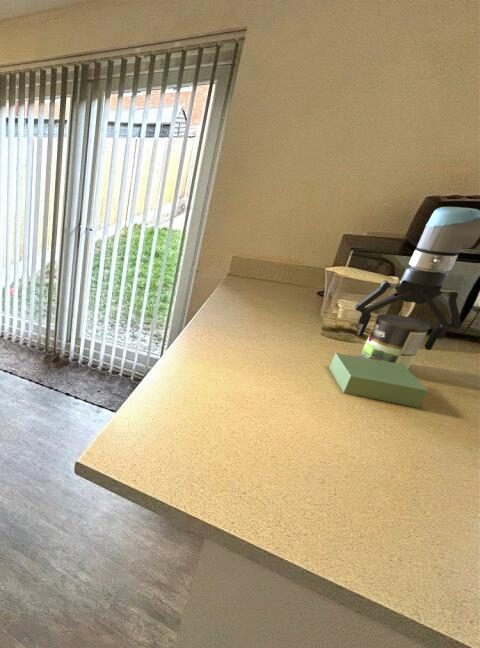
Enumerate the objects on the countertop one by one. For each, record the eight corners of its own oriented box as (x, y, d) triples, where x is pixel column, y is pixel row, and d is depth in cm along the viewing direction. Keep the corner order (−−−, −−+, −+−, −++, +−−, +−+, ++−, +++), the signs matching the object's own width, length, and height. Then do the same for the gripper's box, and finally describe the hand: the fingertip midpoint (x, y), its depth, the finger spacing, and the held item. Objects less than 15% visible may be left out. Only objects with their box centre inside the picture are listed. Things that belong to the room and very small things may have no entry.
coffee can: (366, 369, 111) (386, 324, 106) (352, 354, 120) (371, 311, 114) (415, 377, 107) (439, 331, 102) (397, 360, 116) (419, 317, 110)
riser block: (395, 380, 106) (403, 364, 104) (418, 407, 95) (427, 390, 93) (329, 368, 112) (335, 352, 110) (343, 392, 101) (350, 376, 99)
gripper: (364, 263, 106) (335, 333, 115) (508, 281, 92) (462, 359, 101) (361, 258, 112) (333, 325, 120) (497, 274, 97) (454, 349, 106)
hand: (392, 341), depth 111 cm, fingers open, 13 cm apart
